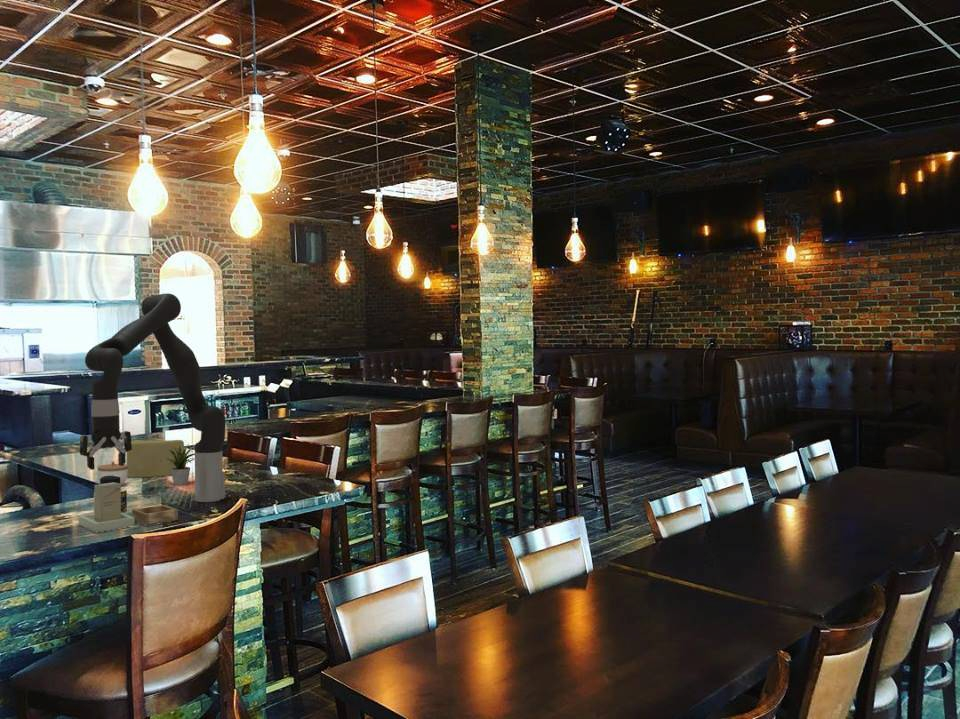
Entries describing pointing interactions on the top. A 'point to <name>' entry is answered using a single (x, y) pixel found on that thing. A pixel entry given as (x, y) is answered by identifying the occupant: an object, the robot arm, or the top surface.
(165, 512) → the wooden square box
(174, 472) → the house plant
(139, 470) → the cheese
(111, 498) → the skincare box
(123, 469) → the lidded jar
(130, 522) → the tray
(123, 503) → the medicine bottle
